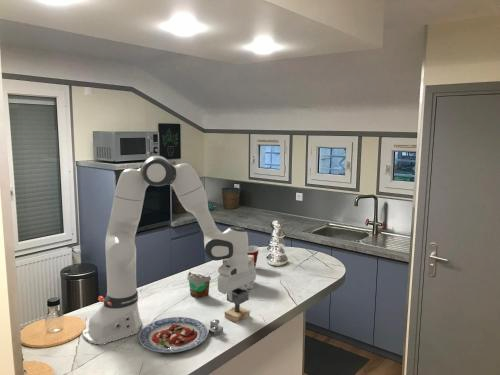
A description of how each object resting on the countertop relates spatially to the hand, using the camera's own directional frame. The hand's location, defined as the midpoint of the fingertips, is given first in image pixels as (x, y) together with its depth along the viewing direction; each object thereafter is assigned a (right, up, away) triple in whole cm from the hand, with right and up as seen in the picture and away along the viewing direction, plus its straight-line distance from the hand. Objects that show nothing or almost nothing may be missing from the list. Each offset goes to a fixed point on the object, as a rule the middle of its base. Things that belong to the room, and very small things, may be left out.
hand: (237, 296), depth 171 cm
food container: (-20, -6, +22) cm, 30 cm away
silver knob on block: (-8, -11, -12) cm, 18 cm away
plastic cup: (+5, 0, +58) cm, 58 cm away
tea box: (-1, -4, +35) cm, 35 cm away
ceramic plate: (-24, -12, -16) cm, 31 cm away
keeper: (0, -9, +1) cm, 9 cm away
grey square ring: (0, -2, 0) cm, 2 cm away
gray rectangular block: (-10, -11, -7) cm, 16 cm away
